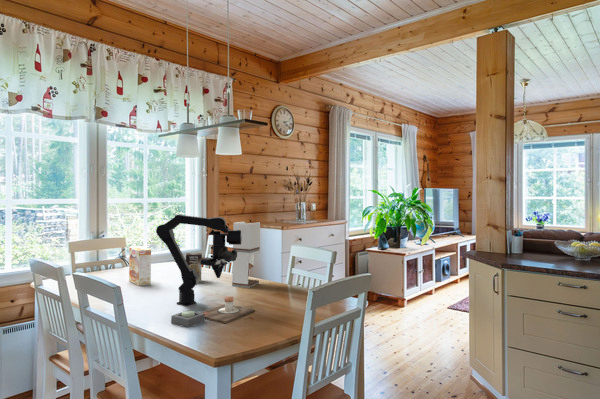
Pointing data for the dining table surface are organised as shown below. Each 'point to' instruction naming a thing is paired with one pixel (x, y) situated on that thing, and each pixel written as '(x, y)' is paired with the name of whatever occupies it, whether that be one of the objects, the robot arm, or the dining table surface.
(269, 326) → the dining table surface
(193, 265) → the coffee box
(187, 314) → the button
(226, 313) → the colouring board
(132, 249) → the coffeecake box
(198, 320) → the button housing
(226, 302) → the mushroom
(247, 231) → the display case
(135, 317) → the dining table surface
